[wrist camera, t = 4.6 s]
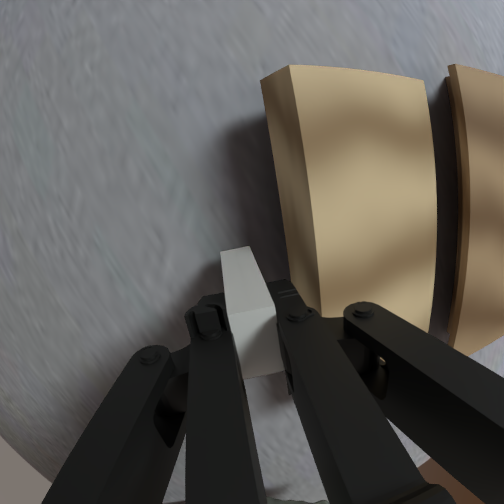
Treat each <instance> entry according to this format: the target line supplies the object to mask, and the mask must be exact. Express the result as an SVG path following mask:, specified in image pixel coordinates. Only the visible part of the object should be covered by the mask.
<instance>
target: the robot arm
mask: <svg viewBox="0 0 504 504" xmlns="http://www.w3.org/2000/svg"><path fill="white" fill-rule="evenodd" d="M220 254H221V264H222V273H223V282H224V291H225V292H224V293H219V294H214V295H208V296H203V297H202V299H201V300H200V301H199V302H198V305H197V306H194V307H192V308H191V309H189V310H188V311H187V312H186V314H185V316H184V317H185V320H186V324H187V327H188V330H189V334H190V337H191V344H190V345H188V346H187V347H185V348H183V349H181V350H178V351H176V352H173V353H170V352H169V350H168V348H166V347H164V346H160V345H153V346H147V347H144V348H142V349H141V350H139V351H137V352H136V353H135V354H134V355H133V356H132V357H131V359H130V360H129V362H128V363H127V365H126V366H125V368H124V370H123V371H122V373H121V374H120V376H119V377H118V379H117V380H116V382H115V383H114V385H113V386H112V388H111V389H110V391H109V393H108V394H107V396H106V397H105V399H104V400H103V402H102V403H101V405H100V407H99V408H98V410H97V411H96V413H95V414H94V416H93V418H92V419H91V421H90V422H89V424H88V426H87V427H86V429H85V430H84V432H83V434H82V435H81V437H80V439H79V440H78V442H77V443H76V445H75V447H74V448H73V450H72V452H71V453H70V455H69V457H68V458H67V460H66V462H65V463H64V465H63V467H62V468H61V470H60V472H59V473H58V475H57V477H56V479H55V480H54V482H53V484H52V486H51V487H50V489H49V491H48V492H47V494H46V496H45V498H44V500H43V501H42V504H162V502H163V499H164V496H165V493H166V490H167V487H168V484H169V481H170V478H171V475H172V472H173V469H174V466H175V463H176V460H177V457H178V454H179V452H180V449H181V446H182V443H183V440H184V437H185V434H186V468H185V498H186V504H268V503H267V498H266V493H265V489H264V484H263V479H262V474H261V469H260V464H259V459H258V454H257V449H256V443H255V438H254V433H253V428H252V422H251V417H250V411H249V406H248V400H247V395H246V389H245V385H244V381H243V380H244V379H249V378H254V377H259V376H263V375H268V374H273V373H277V372H282V371H284V367H285V371H286V378H287V385H288V393H289V395H291V394H292V397H293V400H294V403H295V405H296V408H297V411H298V414H299V417H300V420H301V423H302V426H303V429H304V431H305V434H306V437H307V440H308V443H309V446H310V449H311V452H312V455H313V457H314V460H315V463H316V466H317V469H318V472H319V475H320V477H321V480H322V483H323V486H324V489H325V492H326V494H327V497H328V500H329V503H330V504H456V502H455V501H454V499H453V498H452V496H451V495H450V494H449V492H448V491H447V490H446V489H445V488H444V487H442V486H440V485H439V484H429V483H427V482H426V481H425V480H424V478H423V477H422V475H421V474H420V472H419V470H418V469H417V467H416V465H415V464H414V462H413V461H412V459H411V457H410V456H409V454H408V452H407V451H406V449H405V447H404V446H403V444H402V443H401V441H400V439H399V438H398V436H397V434H396V433H395V431H394V430H393V428H392V426H391V425H390V423H389V422H388V420H387V419H389V420H390V421H391V422H392V423H393V424H394V425H395V426H396V427H397V428H399V429H400V430H401V431H402V432H403V433H404V434H405V435H406V436H407V437H409V438H410V439H411V440H412V441H413V442H414V443H415V444H416V445H418V446H419V447H420V448H421V449H422V450H423V451H424V452H425V453H427V454H428V455H429V456H430V457H431V458H432V459H433V460H435V461H436V462H437V463H438V464H439V465H440V466H442V467H443V468H444V469H445V470H446V471H448V473H450V474H451V475H452V476H453V477H454V478H455V479H457V480H458V481H459V482H460V483H461V484H462V485H464V486H465V487H466V488H467V489H468V490H470V491H471V492H472V493H473V494H474V495H475V496H477V497H478V498H479V499H480V500H482V501H483V502H484V503H485V504H504V378H503V377H501V376H499V375H498V374H496V373H494V372H493V371H491V370H489V369H488V368H486V367H484V366H483V365H481V364H479V363H478V362H476V361H474V360H473V359H471V358H469V357H468V356H466V355H464V354H462V353H461V352H459V351H457V350H456V349H454V348H452V347H451V346H449V345H447V344H445V343H444V342H442V341H440V340H439V339H437V338H435V337H434V336H432V335H430V334H428V333H427V332H425V331H423V330H421V329H420V328H418V327H416V326H415V325H413V324H411V323H409V322H408V321H406V320H404V319H402V318H401V317H399V316H397V315H395V314H394V313H392V312H390V311H388V310H387V309H385V308H383V307H381V306H380V305H378V304H375V303H373V302H366V301H362V302H356V303H353V304H350V305H349V306H347V307H346V308H345V309H344V311H343V317H333V318H329V317H321V316H320V314H319V313H318V311H316V310H315V309H314V308H311V307H308V306H307V305H306V304H305V302H304V301H303V299H302V297H301V296H300V294H299V293H298V291H297V290H296V288H295V286H294V285H293V283H291V282H289V281H287V280H285V279H284V280H279V281H274V282H269V283H265V281H264V279H263V277H262V274H261V272H260V270H259V267H258V265H257V263H256V260H255V258H254V256H253V253H252V251H251V249H250V246H247V247H242V248H237V249H231V250H226V251H221V252H220ZM380 357H381V358H382V359H383V360H384V361H385V362H384V361H383V360H381V359H380ZM283 364H284V366H283Z"/></svg>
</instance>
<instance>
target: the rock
mask: <svg viewBox="0 0 504 504" xmlns="http://www.w3.org/2000/svg"><path fill="white" fill-rule="evenodd" d="M266 498H267V503H268V504H330V503H329V502H328V501H326V500H321V501H318V502H315V503H308V502H305V501H294V500H287V501H282V500H279V499H274V498H271V497H266Z"/></svg>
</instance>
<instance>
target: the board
mask: <svg viewBox="0 0 504 504" xmlns="http://www.w3.org/2000/svg"><path fill="white" fill-rule="evenodd" d="M448 71H449V75H450V76H448V77H445V78H446V83H447V88H448V94H449V99H450V106H451V112H452V119H453V127H454V136H455V146H456V158H457V174H458V239H457V255H456V268H455V278H454V287H453V295H452V302H451V309H450V315H449V321H448V327H447V332H448V333H449V334H450V336H449V341H448V345H449V346H451V347H452V348H454V349H456V350H457V351H459V352H461V353H462V354H464V355H466V356H469V355H471V354H473V353H474V352H476V351H478V350H480V349H482V348H483V347H485V346H487V345H488V344H490V343H492V342H493V341H495V340H497V339H498V338H500V337H502V336H503V335H504V76H500V75H497V74H494V73H490V72H487V71H483V70H479V69H475V68H471V67H467V66H462V65H458V64H453V65H449V66H448Z"/></svg>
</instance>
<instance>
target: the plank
mask: <svg viewBox="0 0 504 504" xmlns="http://www.w3.org/2000/svg"><path fill="white" fill-rule="evenodd" d="M260 83H261V89H262V94H263V100H264V105H265V111H266V117H267V122H268V128H269V134H270V140H271V146H272V152H273V159H274V165H275V171H276V177H277V184H278V190H279V197H280V204H281V211H282V218H283V225H284V232H285V239H286V246H287V253H288V261H289V269H290V276H291V283H293V285H294V286H295V288H296V290H297V291H298V293H299V294H300V296H301V297H302V299H303V301H304V302H305V304H306V305H307V306H308V307H311V308H314V309H315V310H316V311H318V313H319V314H320V316H321V317H329V318H333V317H343V311H344V309H345V308H346V307H347V306H349V305H350V304H353V303H356V302H362V301H366V302H373V303H375V304H378V305H380V306H381V307H383V308H385V309H387V310H388V311H390V312H392V313H394V314H395V315H397V316H399V317H401V318H402V319H404V320H406V321H408V322H409V323H411V324H413V325H415V326H416V327H418V328H420V329H421V330H423V331H425V332H427V333H428V330H429V323H430V316H431V308H432V299H433V290H434V278H435V264H436V242H437V195H436V174H435V160H434V148H433V139H432V130H431V123H430V115H429V109H428V103H427V97H426V91H425V86H424V81H423V80H419V79H414V78H409V77H404V76H398V75H393V74H387V73H380V72H373V71H366V70H358V69H349V68H339V67H326V66H310V65H287V66H286V67H284V68H282V69H280V70H278V71H276V72H274V73H273V74H271V75H269V76H267V77H265V78H264V79H262V80H260ZM380 359H381V360H383V359H382V358H381V357H380ZM383 361H384V360H383ZM384 362H385V361H384Z"/></svg>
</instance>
